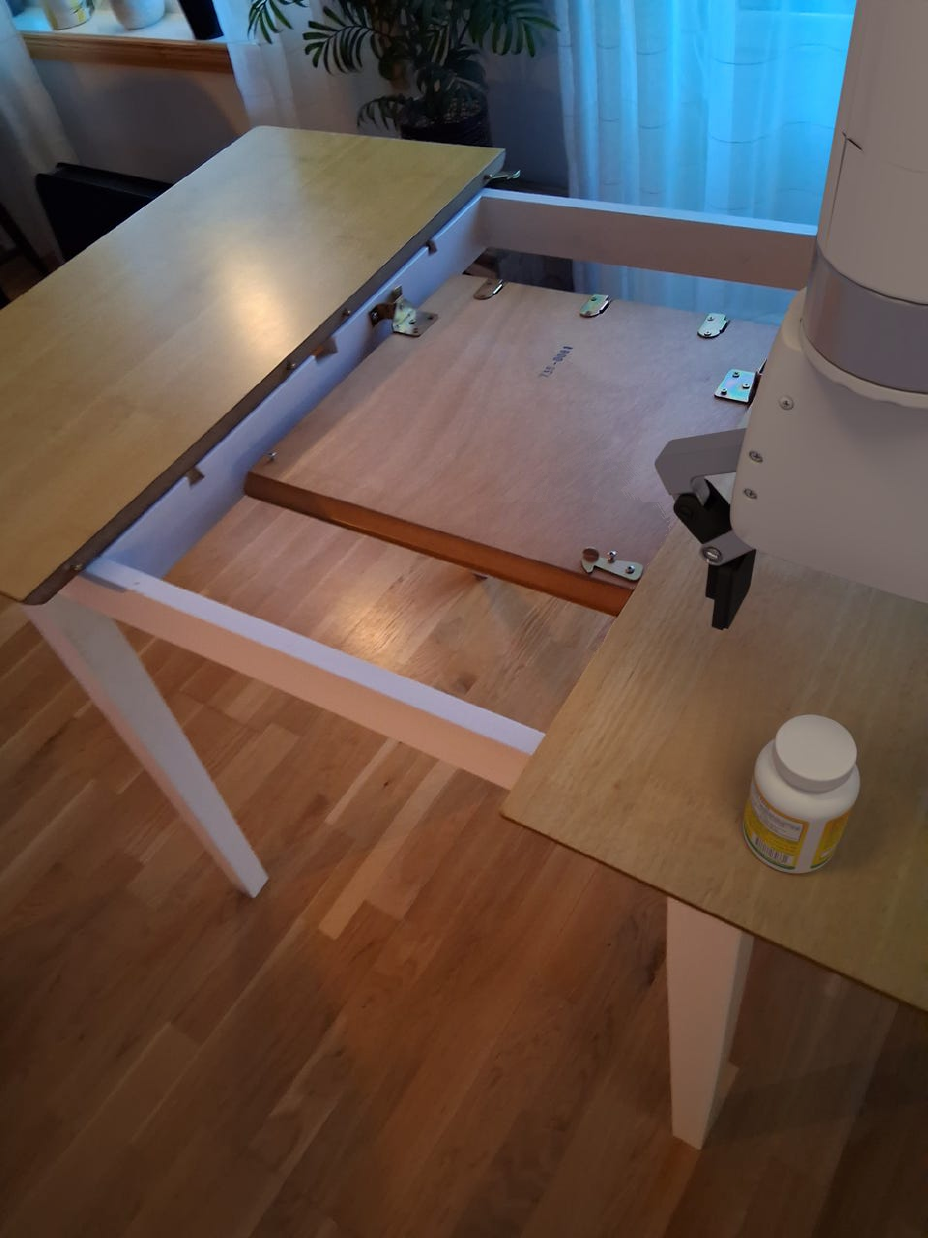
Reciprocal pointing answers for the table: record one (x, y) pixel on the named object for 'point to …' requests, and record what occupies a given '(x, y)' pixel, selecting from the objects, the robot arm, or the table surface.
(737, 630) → the table surface
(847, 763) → the supplement bottle
